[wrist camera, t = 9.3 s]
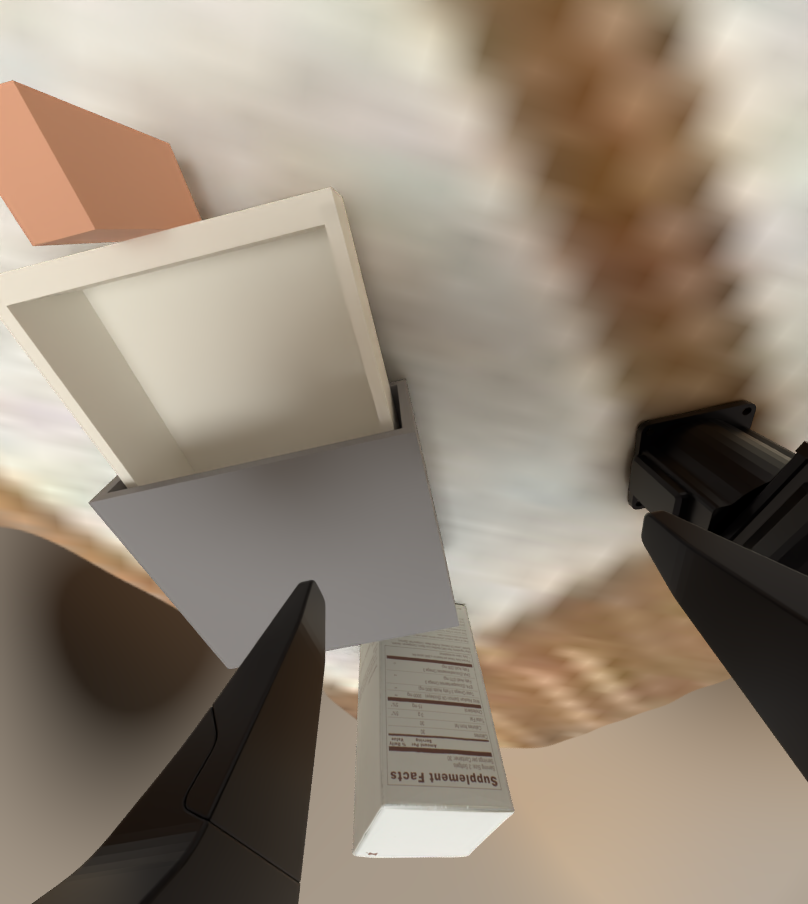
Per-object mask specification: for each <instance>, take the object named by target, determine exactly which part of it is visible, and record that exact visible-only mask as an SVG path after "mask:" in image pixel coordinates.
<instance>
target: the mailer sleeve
mask: <svg viewBox="0 0 808 904" xmlns="http://www.w3.org/2000/svg"><path fill="white" fill-rule="evenodd" d="M389 386H390V390H391V394H392V398H393V402H394V406H395V410H396V414H397V418H398V422H399V426H400V429H396V430H392V431H387V432H383V433H378V434H374V435H369V436H364V437H360V438H355V439H351V440H346V441H342V442H337V443H333V444H328V445H324V446H319V447H314V448H310V449H305V450H301V451H296V452H292V453H287V454H283V455H278V456H274V457H269V458H264V459H260V460H255V461H251V462H246V463H242V464H237V465H233V466H228V467H224V468H219V469H214V470H210V471H205V472H201V473H196V474H192V475H187V476H183V477H178V478H173V479H169V480H164V481H160V482H155V483H151V484H146V485H142V486H137V487H133V488H127V487H126V486H125V484H124V483H123V482H122V480H121V479H120V478H119V476H118V475H117V476H116V477H115V478H114V479H113V480H112V481H111V482H110V483H109V484H108V485H107V486H105V487H104V488H103V489H102V490H101V491H100V492H99V493H98V494H97V495H96V496H95V497H94V498H93V499H92V500H91V501H90V502H89V504H90V506H91V507H92V508H93V509H94V510H95V512H96V513H97V514H98V515H99V516H100V517H101V519H102V520H103V521H104V522H105V523H106V525H107V526H108V527H109V528H110V529H111V530H112V532H113V533H114V534H115V535H116V536H117V538H118V539H119V540H120V541H121V542H122V544H123V545H124V546H125V547H126V548H127V549H128V551H129V552H130V553H131V554H132V555H133V557H134V558H135V559H136V560H137V561H138V563H139V564H140V565H141V566H142V567H143V568H144V570H145V571H146V572H147V573H148V574H149V576H150V577H151V578H152V579H153V580H154V581H155V583H156V584H157V585H158V586H159V587H160V589H161V590H162V591H163V592H164V593H165V595H166V596H167V597H168V598H169V599H170V600H171V602H172V603H173V604H174V605H175V606H176V608H177V609H178V610H179V611H180V612H181V613H182V615H183V616H184V617H185V618H186V619H187V621H188V622H189V623H190V624H191V625H192V626H193V628H194V629H195V630H196V631H197V632H198V634H199V635H200V636H201V637H202V638H203V640H204V641H205V642H206V643H207V644H208V646H209V647H210V648H211V649H212V650H213V651H214V653H215V654H216V655H217V656H218V657H219V659H220V660H221V661H222V662H223V663H224V664H225V666H226V667H227V668H228V669H231V668H237V667H239V666H240V665H241V664H242V662H243V661H244V659H245V658H246V657H247V655H248V654H249V652H250V651H251V650H252V648H253V647H254V645H255V644H256V642H257V641H258V640H259V638H260V637H261V635H262V634H263V633H264V631H265V630H266V628H267V627H268V626H269V624H270V623H271V621H272V620H273V619H274V617H275V616H276V614H277V613H278V612H279V610H280V609H281V607H282V606H283V604H284V603H285V602H286V600H287V599H288V597H289V596H290V595H291V593H292V592H293V590H294V589H295V588H296V586H297V585H298V584H299V583H300V582H303V581H308V580H314V581H315V582H316V583H317V585H318V587H319V589H320V591H321V593H322V595H323V597H324V600H325V607H326V611H325V651H329V650H334V649H339V648H345V647H350V646H356V645H361V644H366V643H372V642H377V641H382V640H388V639H393V638H399V637H404V636H409V635H415V634H420V633H425V632H431V631H436V630H442V629H447V628H452V627H458V626H459V621H458V616H457V611H456V606H455V601H454V596H453V591H452V587H451V582H450V577H449V572H448V567H447V562H446V557H445V552H444V548H443V543H442V539H441V534H440V530H439V525H438V521H437V516H436V512H435V507H434V503H433V498H432V494H431V489H430V485H429V480H428V476H427V471H426V467H425V463H424V458H423V454H422V449H421V445H420V440H419V436H418V431H417V427H416V422H415V418H414V413H413V409H412V404H411V400H410V395H409V391H408V386H407V382H406V379H403V380H399V381H395V382H390V383H389Z"/></svg>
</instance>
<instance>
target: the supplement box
mask: <svg viewBox="0 0 808 904" xmlns="http://www.w3.org/2000/svg"><path fill="white" fill-rule="evenodd" d="M455 606H456V611H457V616H458V621H459V626H458V627H452V628H447V629H442V630H436V631H431V632H425V633H420V634H415V635H409V636H404V637H399V638H393V639H388V640H382V641H377V642H372V643H366V644H361V647H360V665H359V692H358V717H357V746H356V770H355V772H356V773H355V798H354V824H353V852H352V853H353V855H355V856H360V857H371V858H403V857H405V858H406V857H463V856H468V855H469V854H471V852H473V850H474V849H475V848H476V847H477V846H478V845H480V844H481V843H482V842H483V841H484V840H485V839H486V838H487V837H488V836H489V835H490V834H491V833H492V832H493V831H494V830H495V829H496V828H498V827H499V826H500V825H501V824H502V823H503V822H504V821H505V820H506V819H508V818H509V817H510V816H511V815H512V814H513V813H514V807H513V804H512V800H511V796H510V791H509V787H508V783H507V779H506V774H505V770H504V766H503V761H502V757H501V753H500V749H499V745H498V740H497V736H496V732H495V728H494V723H493V719H492V715H491V710H490V706H489V702H488V698H487V693H486V689H485V685H484V681H483V676H482V672H481V668H480V664H479V660H478V655H477V651H476V647H475V643H474V639H473V635H472V630H471V626H470V622H469V618H468V614H467V610H466V607H465V606H462V605H457V604H455Z"/></svg>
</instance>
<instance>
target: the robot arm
mask: <svg viewBox="0 0 808 904" xmlns="http://www.w3.org/2000/svg"><path fill="white" fill-rule="evenodd" d="M744 409H745V410H744ZM743 410H744V411H743ZM755 411H756V406H755V404H753V403H751V402H748V401H740V402H735V403H731V404H726V405H721V406H717V407H712V408H707V409H702V410H698V411H693V412H688V413H684V414H679V415H674V416H670V417H665V418H660V419H655V420H651V421H646V422H644V423H642V424H641V425H640V426H639V427H638V430H637V437H636V445H635V453H634V458H633V460H632V467H631V475H630V483H629V491H630V492H629V500H628V502H629V504H630V505H631V506H632V508H633V509H642V508H646V509H647V510H648V511H649V512H650V513H647V514H646V515H645V516H644V521H643V528H642V534H641V538H642V542H643V544H644V546H645V548H646V550H647V551H648V553H649V555H650V556H651V558H652V560H653V562H654V563H655V565H656V567H657V569H658V570H659V572H660V574H661V576H662V577H663V579H664V581H665V582H666V584H667V586H668V588H669V589H670V591H671V593H672V594H673V596H674V597H675V599H676V600H677V602H678V603H679V605H680V606H681V607H682V609H683V610H684V612H685V613H686V614H687V616H688V617H689V619H690V620H691V621H692V623H693V624H694V625H695V627H696V628H697V630H698V631H699V632H700V634H701V635H702V636H703V638H704V639H705V641H706V642H707V643H708V645H709V646H710V648H711V649H712V650H713V652H714V653H715V654H716V656H717V657H718V659H719V660H720V661H721V663H722V664H723V665H724V667H725V668H726V670H727V671H728V672H729V674H730V675H731V677H732V678H733V679H734V681H735V682H736V683H737V685H738V686H739V688H740V689H741V690H742V692H743V693H744V694H745V696H746V697H747V699H748V700H749V701H750V703H751V704H752V705H753V707H754V708H755V710H756V711H757V712H758V714H759V715H760V717H761V718H762V719H763V721H764V722H765V724H766V725H767V726H768V728H769V729H770V730H771V732H772V733H773V735H774V736H775V737H776V739H777V740H778V741H779V743H780V744H781V746H782V747H783V748H784V749H785V751H786V752H787V754H788V755H789V757H790V758H791V759H792V761H793V762H794V764H795V765H796V766H797V768H798V769H799V770H800V772H801V773H802V774H803V776H804V777H805V779H806V780H807V781H808V442H807V441H804V442H803V443H802V444H801V445H800V446H799V448H798V449H797V450H796V452H797V453H796V454H795V453H793V452H791V451H789V450H788V449H786V448H784V447H782V446H780V445H778V444H777V443H775V442H773V441H771V440H769V439H767V438H765V437H764V436H762V435H760V434H758V433H756V432H754V431H752V430H751V429H750V427H751V424H752V421H753V417H754V414H755ZM649 428H650V429H649ZM648 429H649V431H648V432H646V431H647V430H648ZM325 611H326V607H325V600H324V597H323V595H322V593H321V591H320V589H319V587H318V585H317V583H316V582H315V581H314V580H308V581H303V582H300V583H299V584H298V585H297V586H296V588H295V589H294V590H293V592H292V593H291V595H290V596H289V597H288V599H287V600H286V602H285V603H284V604H283V606H282V607H281V609H280V610H279V612H278V613H277V614H276V616H275V617H274V619H273V620H272V621H271V623H270V624H269V626H268V627H267V628H266V630H265V631H264V633H263V634H262V635H261V637H260V638H259V640H258V641H257V642H256V644H255V645H254V647H253V648H252V650H251V651H250V652H249V654H248V655H247V657H246V658H245V659H244V661H243V662H242V664H241V665H240V666H239V668H238V669H237V671H236V672H235V673H234V675H233V676H232V678H231V679H230V680H229V682H228V683H227V685H226V686H225V688H224V689H223V690H222V692H221V693H220V695H219V696H218V698H217V699H216V700H215V702H214V703H213V707H211V708H210V709H209V710H208V711H207V713H206V714H205V715H204V717H203V718H202V720H201V721H200V723H199V724H198V725H197V727H196V728H195V729H194V731H193V732H192V733H191V735H190V736H189V737H188V739H187V740H186V742H185V743H184V744H183V746H182V747H181V748H180V750H179V751H178V752H177V754H176V755H175V756H174V757H173V758H172V760H171V761H170V762H169V763H168V765H167V766H166V767H165V769H164V770H163V771H162V772H161V774H160V775H159V776H158V777H157V778H156V780H155V781H154V782H153V783H152V785H151V786H150V787H149V788H148V790H147V791H146V792H145V793H144V795H143V796H142V797H141V798H140V799H139V801H138V802H137V803H136V804H135V805H134V807H133V808H132V809H131V810H130V812H129V813H128V814H127V815H126V817H125V818H124V819H123V820H122V821H121V823H120V824H119V825H118V826H117V828H116V829H115V830H114V831H113V833H112V834H111V835H110V836H109V837H108V839H107V840H106V841H105V842H104V843H103V844H102V845H101V847H100V848H99V849H98V850H97V851H96V852H95V853H94V854H93V855H92V856H91V857H90V858H89V859H88V860H87V861H86V862H85V863H84V864H83V865H82V866H81V867H80V868H79V869H77V870H76V871H75V872H74V873H73V874H71V875H70V876H69V877H68V878H66V879H65V880H64V881H62V882H61V883H60V884H59V885H57V886H56V887H54V888H53V889H52V890H50V891H49V892H47V893H46V894H45V895H43V896H42V897H40V898H39V899H38V900H36V901H35V902H34V903H32V904H298V901H299V892H300V883H299V882H300V880H301V872H302V863H303V855H304V846H305V837H306V828H307V819H308V810H309V802H310V792H311V784H312V775H313V766H314V757H315V748H316V739H317V731H318V721H319V713H320V704H321V695H322V686H323V677H324V668H325Z"/></svg>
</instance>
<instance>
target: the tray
mask: <svg viewBox="0 0 808 904" xmlns="http://www.w3.org/2000/svg"><path fill="white" fill-rule="evenodd" d="M0 196H1V197H2V199H3V200H4V202H5V204H6V205H7V207H8V208H9V210H10V211H11V213H12V214H13V216H14V218H15V219H16V221H17V222H18V224H19V225H20V227H21V228H22V230H23V231H24V233H25V235H26V236H27V238H28V239H29V241H30V242H31V244H32V245H33V246H43V245H63V244H82V243H101V242H118V243H114V244H110V245H107V246H103V247H99V248H95V249H91V250H88V251H84V252H80V253H76V254H72V255H68V256H65V257H61V258H57V259H53V260H49V261H46V262H42V263H38V264H34V265H30V266H26V267H23V268H19V269H15V270H11V271H7V272H4V273H0V320H1V321H2V322H3V324H4V325H5V326H6V328H7V329H8V330H9V332H10V333H11V334H12V336H13V337H14V338H15V340H16V341H17V342H18V344H19V345H20V346H21V348H22V349H23V350H24V351H25V353H26V354H27V355H28V357H29V358H30V359H31V361H32V362H33V363H34V365H35V366H36V367H37V369H38V370H39V371H40V373H41V374H42V375H43V377H44V378H45V379H46V381H47V382H48V383H49V385H50V386H51V387H52V389H53V390H54V391H55V393H56V394H57V395H58V397H59V398H60V399H61V401H62V402H63V403H64V405H65V406H66V407H67V409H68V410H69V411H70V413H71V414H72V415H73V417H74V418H75V419H76V421H77V422H78V423H79V425H80V426H81V427H82V429H83V430H84V431H85V433H86V434H87V435H88V436H89V438H90V439H91V440H92V442H93V443H94V444H95V446H96V447H97V448H98V450H99V451H100V452H101V454H102V455H103V456H104V458H105V459H106V460H107V462H108V463H109V464H110V466H111V467H112V468H113V470H114V471H115V472H116V474H117V475H118V476H119V478H120V479H121V480H122V482H123V483H124V484H125V486H126V487H127V488H133V487H137V486H142V485H146V484H151V483H155V482H160V481H164V480H169V479H173V478H178V477H183V476H187V475H192V474H196V473H201V472H205V471H210V470H214V469H219V468H224V467H228V466H233V465H237V464H242V463H246V462H251V461H255V460H260V459H264V458H269V457H274V456H278V455H283V454H287V453H292V452H296V451H301V450H305V449H310V448H314V447H319V446H324V445H328V444H333V443H337V442H342V441H346V440H351V439H355V438H360V437H364V436H369V435H374V434H378V433H383V432H387V431H392V430H396V429H400V426H399V422H398V418H397V414H396V410H395V406H394V402H393V398H392V394H391V390H390V386H389V382H388V378H387V374H386V370H385V366H384V362H383V358H382V354H381V350H380V346H379V342H378V338H377V334H376V330H375V326H374V322H373V318H372V314H371V310H370V306H369V302H368V298H367V294H366V290H365V286H364V282H363V278H362V274H361V270H360V266H359V262H358V258H357V254H356V250H355V246H354V242H353V238H352V234H351V230H350V226H349V222H348V218H347V214H346V210H345V206H344V202H343V198H342V196H341V195H340V194H338V193H337V192H336V191H335V190H334V189H333V188H332V187H328V188H324V189H320V190H317V191H313V192H309V193H305V194H301V195H297V196H294V197H290V198H286V199H282V200H278V201H275V202H271V203H267V204H263V205H259V206H255V207H252V208H248V209H244V210H240V211H236V212H233V213H229V214H225V215H221V216H217V217H213V218H210V219H206V220H201V217H200V215H199V212H198V210H197V208H196V205H195V203H194V201H193V198H192V196H191V194H190V191H189V189H188V187H187V184H186V182H185V179H184V177H183V175H182V172H181V170H180V168H179V165H178V163H177V161H176V158H175V156H174V153H173V151H172V149H171V146H170V144H169V143H166V142H164V141H161V140H159V139H156V138H154V137H151V136H149V135H147V134H144V133H142V132H139V131H137V130H134V129H132V128H129V127H127V126H124V125H122V124H119V123H117V122H114V121H112V120H109V119H107V118H104V117H102V116H100V115H97V114H95V113H92V112H90V111H87V110H85V109H82V108H80V107H77V106H75V105H72V104H70V103H67V102H65V101H62V100H60V99H57V98H55V97H53V96H50V95H48V94H45V93H43V92H40V91H38V90H35V89H33V88H30V87H28V86H25V85H23V84H20V83H18V82H15V81H13V80H12V81H9V82H5V83H2V84H0ZM121 241H122V242H121Z"/></svg>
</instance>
